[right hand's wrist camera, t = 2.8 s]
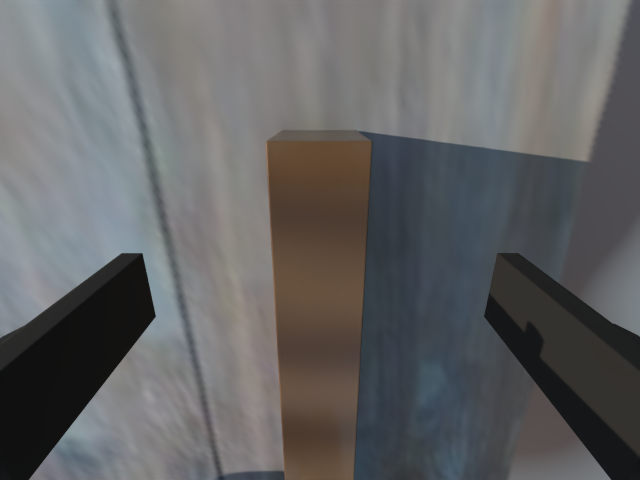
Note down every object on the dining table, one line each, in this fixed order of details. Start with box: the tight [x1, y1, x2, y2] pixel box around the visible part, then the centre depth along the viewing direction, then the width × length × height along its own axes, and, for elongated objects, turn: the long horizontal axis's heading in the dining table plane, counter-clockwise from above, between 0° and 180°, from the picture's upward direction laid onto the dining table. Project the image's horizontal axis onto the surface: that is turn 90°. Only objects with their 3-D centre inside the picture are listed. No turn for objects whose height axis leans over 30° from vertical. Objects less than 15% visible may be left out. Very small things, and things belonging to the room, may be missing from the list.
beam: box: [266, 131, 372, 480], centre depth 32 cm, size 60×5×8 cm, turn 0°
